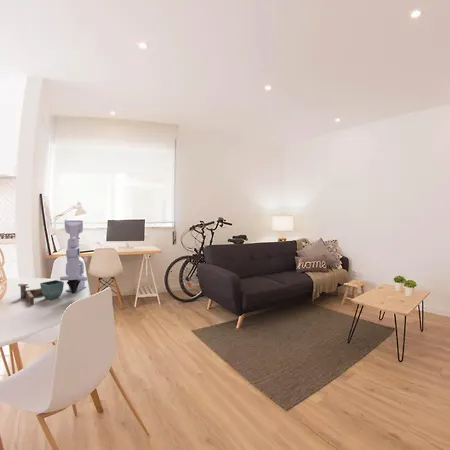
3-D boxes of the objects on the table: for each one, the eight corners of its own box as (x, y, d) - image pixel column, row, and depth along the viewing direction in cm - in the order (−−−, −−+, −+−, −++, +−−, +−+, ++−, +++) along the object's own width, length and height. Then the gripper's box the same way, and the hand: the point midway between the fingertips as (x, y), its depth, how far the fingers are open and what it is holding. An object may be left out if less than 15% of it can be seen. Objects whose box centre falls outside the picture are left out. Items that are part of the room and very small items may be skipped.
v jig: (34, 291, 165) (34, 278, 165) (61, 291, 165) (60, 279, 164) (2, 304, 142) (1, 289, 142) (32, 305, 142) (31, 290, 141)
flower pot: (64, 297, 155) (64, 281, 154) (48, 301, 147) (47, 285, 147) (56, 294, 159) (56, 279, 159) (40, 298, 152) (39, 283, 151)
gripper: (56, 270, 148) (56, 295, 149) (82, 270, 147) (82, 295, 148) (64, 268, 155) (64, 291, 156) (89, 268, 155) (89, 291, 155)
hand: (74, 293), depth 152 cm, fingers closed
